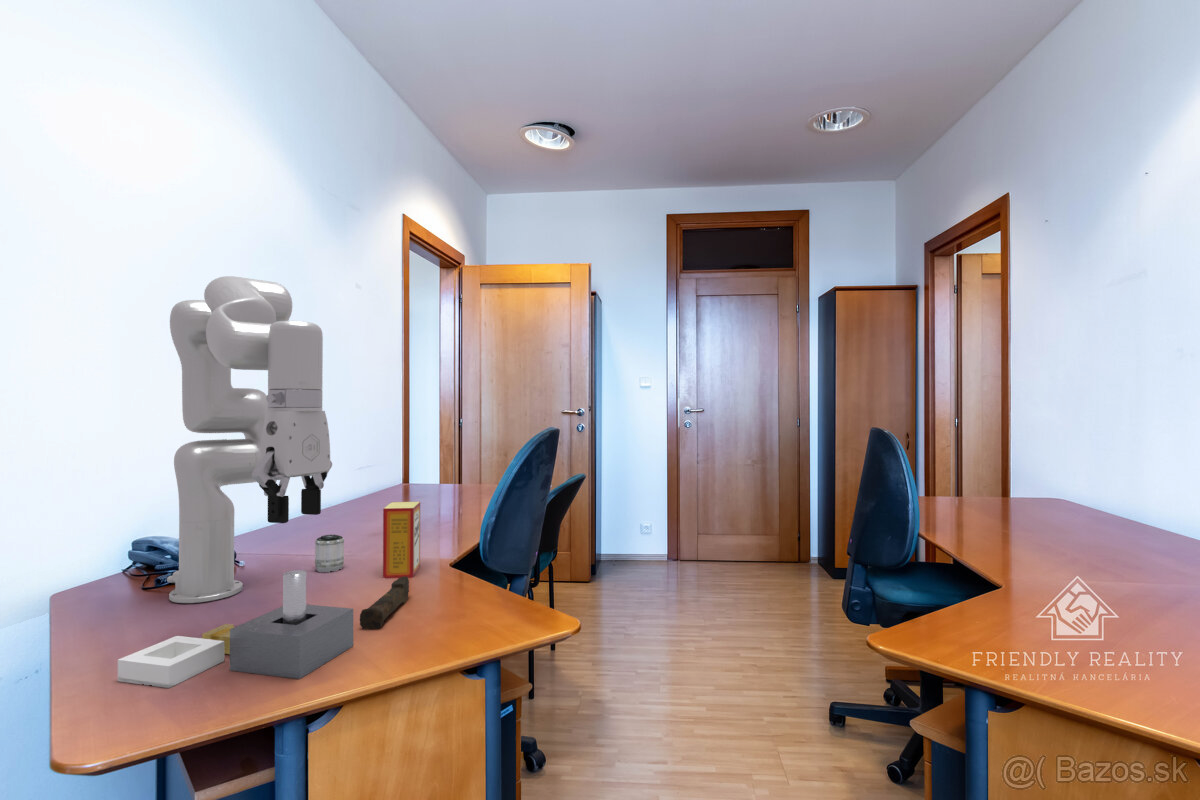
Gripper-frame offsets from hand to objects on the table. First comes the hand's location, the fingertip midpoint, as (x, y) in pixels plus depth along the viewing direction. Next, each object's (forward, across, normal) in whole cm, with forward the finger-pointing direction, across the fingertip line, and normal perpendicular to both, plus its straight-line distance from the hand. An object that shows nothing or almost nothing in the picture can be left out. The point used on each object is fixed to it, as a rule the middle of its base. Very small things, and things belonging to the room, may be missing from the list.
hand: (295, 517), depth 92 cm
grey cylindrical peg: (+22, 0, 0) cm, 22 cm away
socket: (+22, 0, 0) cm, 22 cm away
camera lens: (+22, +44, +28) cm, 57 cm away
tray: (+22, -8, +14) cm, 27 cm away
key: (+21, 0, +9) cm, 23 cm away
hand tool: (+22, +22, -2) cm, 31 cm away
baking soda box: (+22, +46, +10) cm, 52 cm away
